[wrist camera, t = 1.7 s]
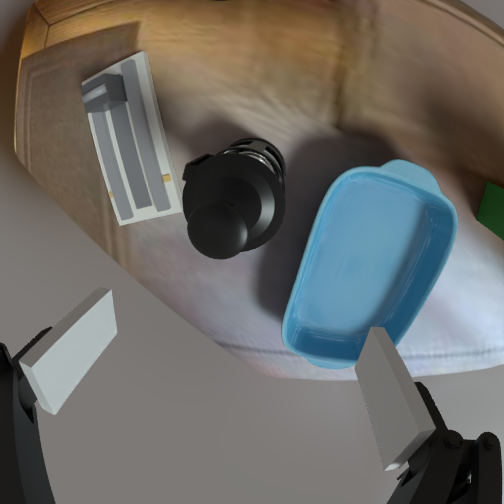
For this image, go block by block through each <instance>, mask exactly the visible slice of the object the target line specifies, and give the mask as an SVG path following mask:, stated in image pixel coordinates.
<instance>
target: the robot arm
mask: <svg viewBox="0 0 504 504" xmlns="http://www.w3.org/2000/svg"><path fill="white" fill-rule="evenodd" d="M217 1H224V0H217ZM116 334H117V328H116V321H115V314H114V307H113V299H112V290H111V289H107V288H103V287H99V288H98V289H96V290H95V291H94V292H93V293H92V294H91V295H90V296H88V297H87V298H86V299H85V300H83V301H82V302H81V303H80V304H79V305H78V306H77V307H76V308H74V309H73V310H72V311H71V312H70V313H69V314H68V315H66V316H65V317H64V318H63V319H62V320H61V321H60V322H59V323H57V325H55V326H54V327H49V328H46V329H44V330H42V331H41V332H40V333H39V334H38V335H37V336H35V338H33V339H32V340H31V341H30V343H28V344H27V345H26V346H25V347H24V348H23V349H22V350H21V351H20V352H18V354H16V355H15V356H14V357H13V358H12V359H11V357H10V354H9V352H8V350H7V347H6V346H5V344H3V343H0V504H55V500H54V497H53V494H52V490H51V487H50V483H49V479H48V475H47V471H46V467H45V463H44V458H43V453H42V448H41V443H40V436H39V429H38V421H37V412H36V407H35V405H34V403H35V402H36V400H38V401H39V403H40V405H41V407H42V408H43V409H44V410H46V411H48V412H50V413H52V414H53V415H55V414H56V413H57V412H58V410H59V409H60V407H61V406H62V405H63V403H64V402H65V400H66V399H67V398H68V396H69V395H70V394H71V392H72V391H73V389H74V388H75V387H76V385H77V384H78V383H79V381H80V380H81V379H82V377H83V376H84V375H85V374H86V372H87V371H88V370H89V368H90V367H91V366H92V364H93V363H94V362H95V360H96V359H97V358H98V357H99V355H100V354H101V353H102V351H103V350H104V349H105V348H106V346H107V345H108V344H109V343H110V341H111V340H112V339H113V338H114V336H115V335H116ZM355 372H356V375H357V378H358V381H359V384H360V387H361V390H362V393H363V397H364V400H365V403H366V407H367V410H368V413H369V417H370V420H371V424H372V427H373V431H374V434H375V438H376V442H377V446H378V449H379V453H380V457H381V461H382V465H383V469H384V471H386V470H391V469H397V468H400V467H401V466H402V465H403V464H404V463H405V462H406V461H408V464H409V467H408V468H407V469H406V470H405V471H404V472H403V473H402V474H401V475H400V476H399V477H398V478H397V480H399V479H400V478H401V480H400V482H399V484H398V486H397V487H396V489H395V491H394V493H393V494H392V496H391V498H390V499H389V501H388V502H387V504H502V461H501V447H500V442H499V439H498V438H497V436H496V435H494V434H493V433H491V432H484V433H482V434H481V435H480V436H479V437H478V438H477V439H476V440H466V439H463V437H462V436H461V435H460V434H459V433H458V432H456V431H453V430H448V429H447V427H446V425H445V422H444V420H443V418H442V416H441V414H440V412H439V410H438V408H437V406H435V402H434V400H433V399H432V397H431V395H430V393H429V391H428V389H427V388H426V387H425V386H424V385H423V384H422V383H421V382H413V380H412V378H411V376H410V374H409V372H408V370H407V368H406V366H405V364H404V362H403V360H402V359H401V357H400V355H399V353H398V351H397V349H396V348H395V346H394V344H393V342H392V340H391V339H390V337H389V335H388V333H387V332H386V330H385V328H384V327H371V328H370V331H369V333H368V336H367V338H366V341H365V344H364V346H363V349H362V351H361V354H360V356H359V359H358V361H357V363H356V366H355ZM470 478H471V483H470Z"/></svg>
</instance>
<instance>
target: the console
mask: <svg viewBox="0 0 504 504" xmlns="http://www.w3.org/2000/svg"><path fill="white" fill-rule="evenodd" d="M104 73H107V74H114V75H120V76H123V80H124V86H125V90H126V95H127V100H128V102H126V103H123V104H121V105H119V106H117V107H114V108H112V109H110V110H108V111H106V112H95V113H88V117H89V122H90V126H91V131H92V135H93V139H94V143H95V147H96V151H97V155H98V159H99V162H100V166H101V169H102V173H103V176H104V180H105V183H106V186H107V189H108V193H109V196H110V199H111V202H112V205H113V208H114V211H115V214H116V217H117V220H118V222H119V225H120V226H121V225H125V224H129V223H133V222H138V221H142V220H146V219H151V218H155V217H160V216H164V215H169V214H174V213H178V212H182V211H183V203H182V196H181V192H180V189H179V185H178V182H177V178H176V174H175V170H174V167H173V163H172V159H171V155H170V151H169V148H168V144H167V140H166V136H165V132H164V128H163V123H162V119H161V115H160V111H159V106H158V102H157V98H156V93H155V88H154V84H153V79H152V74H151V70H150V65H149V60H148V54H147V52H144V51H142V52H139V53H137V54H135V55H133V56H131V57H128V58H126V59H124V60H122V61H120V62H118V63H116V64H114V65H112V66H110V67H108V68H107V69H105V70H103V71H101V72H99V73H97V74H96V75H94V76H92V77H90V78H89V79H87V80H85V81H84V82H82V86H83V85H84V84H86V83H88V82H90V81H91V80H93V79H95V78H97V77H98V76H100V75H102V74H104Z"/></svg>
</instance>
